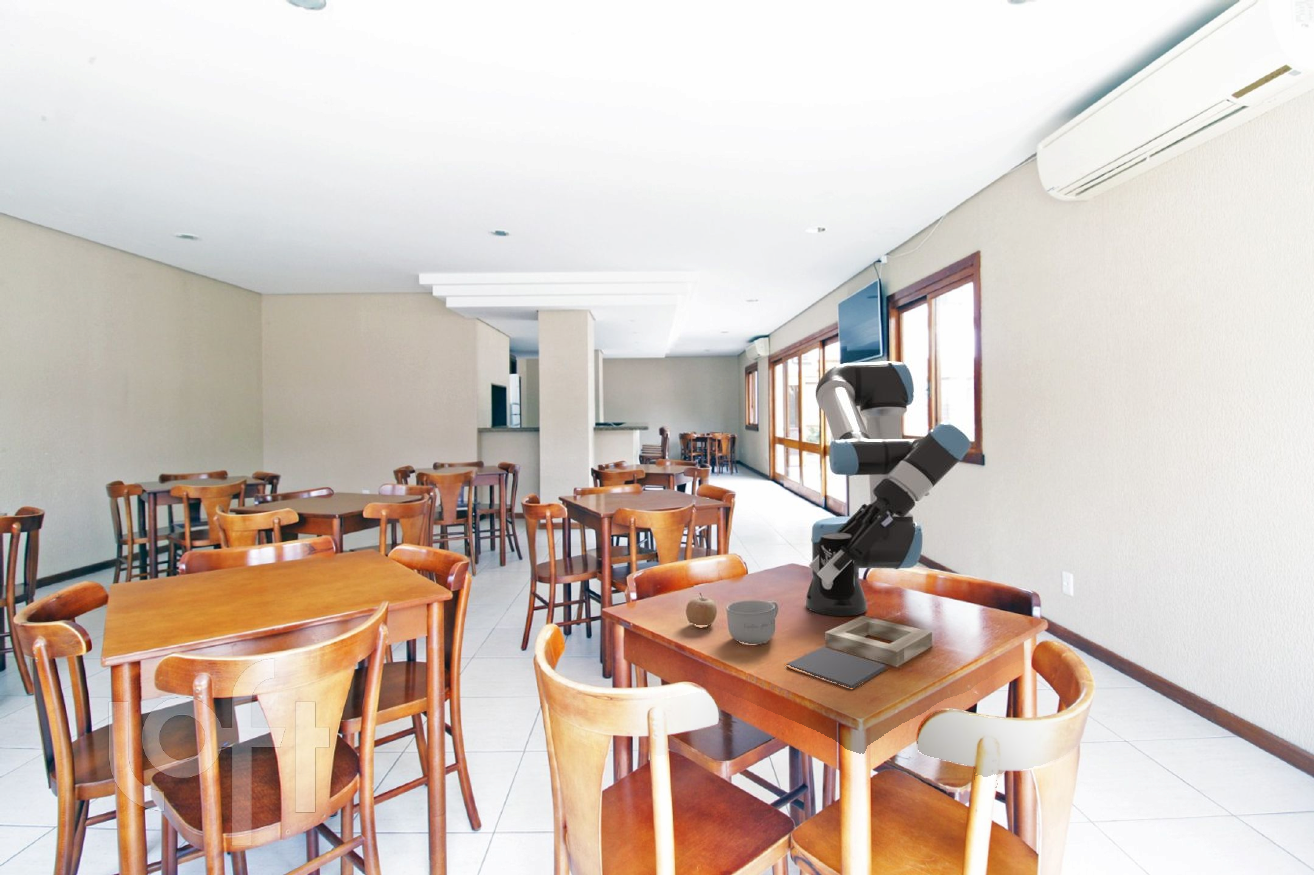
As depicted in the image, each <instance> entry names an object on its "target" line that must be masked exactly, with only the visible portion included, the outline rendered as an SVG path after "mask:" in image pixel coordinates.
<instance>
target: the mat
mask: <svg viewBox="0 0 1314 875" xmlns="http://www.w3.org/2000/svg"><path fill="white" fill-rule="evenodd" d="M786 665H790V666H791V667H794V668H797V669H799V670H802V671H805V672H807V673H810V674H812V675H814V676H818V677H820V678H824V679H826V680H829V681H832V682H836V683H837V684H840V685H844V686H846V687H849V688H854V687H855V688H857V687H858V686H857V685H859V684H860V685H862V684H863V683H862V682H864V683H865V682H867V681H869V680H871V679H872V678H874V677H875V676H877V675H879V674H881V673H882V672H884V671H885V670H887V664H885V663H882V662H878V661H875V660H871V659H868V658H864V657H861V656H858V655H854V654H851V653H847V652H844V651H840V650H837V649H833V648H830V647H826V646H822V647H819V648H816V649H815V650H813V651H810V652H808V653H806V654H805V655H804V654H803V655H802V656H800V657H798V658H796V659H793V660H791V661H790V662H787V663H786ZM883 670H884V671H883ZM881 671H882V672H881ZM880 672H881V673H880ZM873 676H874V677H873ZM868 679H869V680H868ZM861 683H862V684H861ZM860 685H859V686H860ZM856 686H857V687H856ZM855 688H854V689H855Z"/></svg>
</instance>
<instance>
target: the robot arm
mask: <svg viewBox="0 0 1314 875" xmlns="http://www.w3.org/2000/svg"><path fill="white" fill-rule="evenodd" d="M914 393H915V388H914V381H913V377H912V374H911V370H910V369H909V367H908V366H907V365H906V364H905V363H903V362H901V361H889V360H888V361H887V360H885V361H869V362H845V363H842V364H841V363H840V364H838V365H836V366H834V367H831V368H830V369H829V370H828V371H827V372H825V373H824V374H823V375H822V376H821V377H820V379H819V381H818V382H817V385H816V388H815V398H816V402H817V405H818V406H819V408H820V409H821V410H822V411H823V412H824V414H825V417H826V419H827V420H826V421H827V424H828V426H829V429H830V432H831V435H832V436H831V437H832V439H833V441H831V442H830V445H829V452H828V454H829V455H828V457H829V458H828V460H829V461H828V462H829V468H830V470H831V472H832V473H833V474H834V475H841V476H849V477H850V476H853V477H854V476H868V477H869V478H868V479H869V480H868V481H869V498H870V500H869V501H870V503H869V504H868V505H867V504H866V503H864V504H862V505H861V506H860V507H859V509H858V510H857V511H856V512H855V513H854V514H853V515H852V516H851V515H849V516H845V515H843V516H833V517H828V518H827V517H826V518H823V519H820V520H817V521H816V522H814V523H813V524H812V529H811V552H812V553H811V554H812V555H811V558H812V560H811V562H810V563H809V564H808V566H809V568H811V573H812V578H811V581H810V583H809V587H808V590H807V593H806V596H805V607H806V606H807V607H806V608H807V609H808V608H809V609H811V610H812V611H811V610H810V611H811V612H814V611H815V612H814V613H817V614H820V613H821V615H825V614H827V616H835V617H850V616H858V615H861V614H865V612H867V598H866V596H865V593H864V590H863V588H862V584H861V581H860V573H859V572H860V569H894V570H899V569H911V568H914V567H916V565H917V564H918V562H919V560H920V558H921V556H922V550H923V532H922V527H921V524H920V523H919V522H916V521H914V516H913V514H912V513H911V512H910V511H911V510H913V508H914V507H915V506H916V502H920V501H921V500H922V499H923V498H924V497H927V496H929V495H930V491H931V490H932V489H933V488H934V487H935V486H936V485H937V484H939V482H940V481H941V480H942V479H943V478H944V476H946V475H947V474H948V473H949V472H950V470H952V469H953V467H955V466H956V464H957V463H959V462H960V461H962V460H963V458H964V456H966V454H967V453H968V452H969V450H970V449H971V448H972V443H971V440H970V439H969V437H968V436H967V435H966V434H965V433H964V432H963V431H962V430H960V429H959V428H958V427H957V426H954V425H953V424H951V423H948V422H946V421H945V422H944V421H941V422H939V423H938V424H937V425H936V426H934V427H933V428H932V429H930V430H929V432H928V433H927V434H926V435H925V436H923V437H920V438H903V433H902V432H903V430H902V429H903V428H902V416H904V415H905V414H906V412H907V411H908V410H907V409H908V408H907V406H910V405H911V404H912V403H913V402H914V397H915V395H914ZM858 407H859V409H858ZM859 411H860V412H859ZM862 417H864V418H865V419H866V420H865V421H866V425H865V423H864V420H863V419H862ZM823 533H846V534H850V535H851V539H852V540H851V541H850V542H849V543H848V545H847V546H846V547H845V546H841V549H842V550H843V551H844V552H843V551H842V550H840V551H839V552H838V553H837V554H836V555H835V556H834V557H833V558H832V559H831V560H830V561H829V562H828V563H827V564H826V565H825V566H824V567H823V568H822V569H821V570H820V571H819V541H820V539H821V534H823ZM851 559H852V560H854V582H855V594H854V595H853V596H852V598H850V599H847V600H832V599H828V598H825V597H823V596H822V594H821V593H820V589H819V577H820V578H821V579H822V580H823V581H824V582H825V583H827V584H829V583H830V582H831V581H832V580H833V579H834V578H835V577H836V576H837V575H838V574H839V573H840V572H841V571H842V570H843V569H844V568H845V567H846V566H847V565H848V564H849V563H850V562H851V561H852V560H851ZM809 609H808V610H809Z"/></svg>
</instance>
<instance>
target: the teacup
mask: <svg viewBox="0 0 1314 875" xmlns="http://www.w3.org/2000/svg"><path fill="white" fill-rule="evenodd" d="M725 610H726V617H727V627H728V631H729V634H730V636H731V638H732V639H734V640H736V641H737V640H738V641H740V642H744V643H748V644H760V645H763V644H762V643H764V644H766V643H768V642H769V640H770V639H771V638H772V637H774V635H775V633H776V617H777V615H778V613H779V605H778V603H777V602H776V601H774V600H768V601H766V600H764V601H763V600H759V599H758V600H754V599H753V600H742V601H741V600H740V601H733V602H731V603H729V604H727V605H726V607H725ZM765 642H766V643H765Z"/></svg>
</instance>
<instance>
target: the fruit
mask: <svg viewBox="0 0 1314 875" xmlns="http://www.w3.org/2000/svg"><path fill="white" fill-rule="evenodd" d="M699 595H700V596H696V597H694V598H692V599H690V600H689V601H688V603H687V605H686V607H685V615H686V619H687V621H688V623H689V624H690V623H693V624H696V625H709V624H711V623H712V624H713V623H714V622H715V620H716V618H717V614H718V608H717V605H716V603H715V602H714V601H713V599H710V597H705V596H702V593H701V592H699ZM712 624H711V625H712Z"/></svg>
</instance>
